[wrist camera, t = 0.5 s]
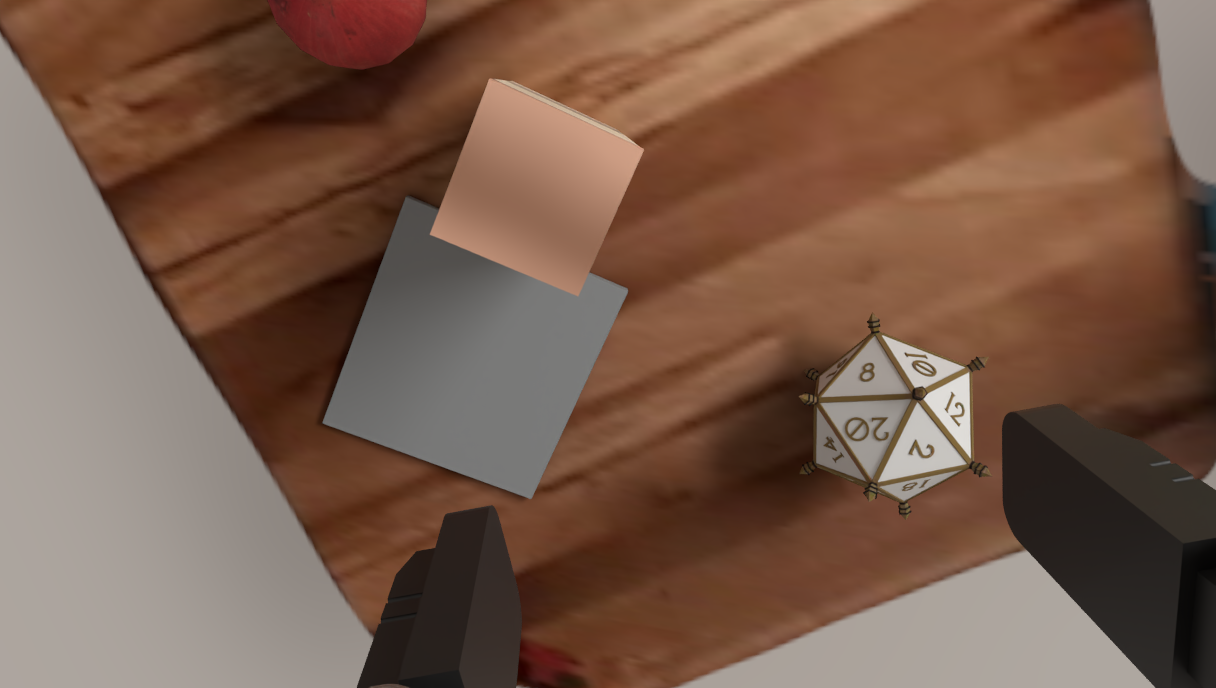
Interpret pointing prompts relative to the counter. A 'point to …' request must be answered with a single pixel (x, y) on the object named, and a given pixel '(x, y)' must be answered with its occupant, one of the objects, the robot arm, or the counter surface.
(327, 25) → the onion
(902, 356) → the game die
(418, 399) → the mat
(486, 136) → the beech block
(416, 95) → the counter surface
